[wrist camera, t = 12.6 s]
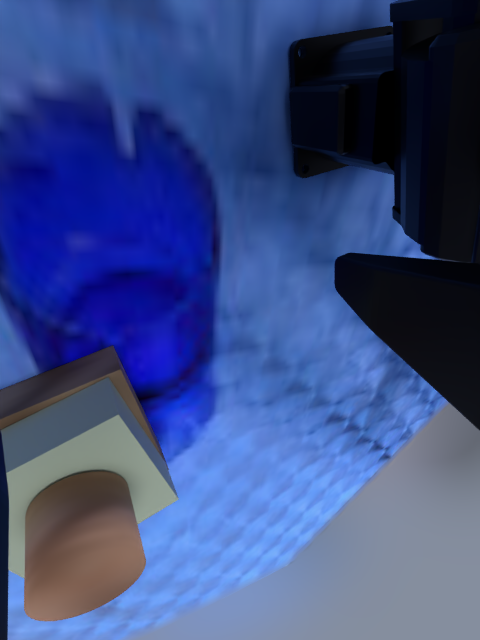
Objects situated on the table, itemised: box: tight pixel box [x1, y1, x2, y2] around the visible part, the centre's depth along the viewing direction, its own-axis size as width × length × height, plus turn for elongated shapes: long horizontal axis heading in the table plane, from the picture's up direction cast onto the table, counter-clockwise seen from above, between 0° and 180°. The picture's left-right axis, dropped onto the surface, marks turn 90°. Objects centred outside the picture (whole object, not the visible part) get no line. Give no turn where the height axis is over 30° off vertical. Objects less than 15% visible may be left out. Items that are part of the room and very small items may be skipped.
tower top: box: [1, 377, 178, 579], centre depth 20 cm, size 9×9×3 cm
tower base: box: [0, 346, 169, 470], centre depth 22 cm, size 10×10×3 cm
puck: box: [24, 471, 146, 621], centre depth 17 cm, size 5×5×4 cm
